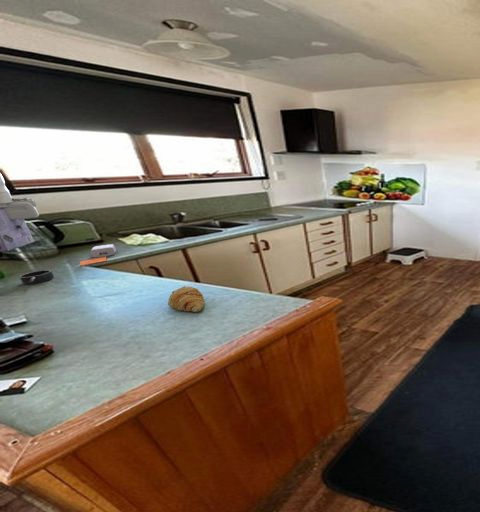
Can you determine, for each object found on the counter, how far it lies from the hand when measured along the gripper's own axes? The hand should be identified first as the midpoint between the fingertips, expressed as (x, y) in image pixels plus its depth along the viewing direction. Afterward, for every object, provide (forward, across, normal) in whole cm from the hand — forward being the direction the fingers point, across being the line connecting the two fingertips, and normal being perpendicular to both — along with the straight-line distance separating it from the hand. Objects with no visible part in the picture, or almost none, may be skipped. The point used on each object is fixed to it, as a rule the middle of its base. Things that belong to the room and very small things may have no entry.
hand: (9, 230), depth 124 cm
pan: (+22, -4, +15) cm, 27 cm away
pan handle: (+20, -4, +23) cm, 31 cm away
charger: (+22, -26, -20) cm, 40 cm away
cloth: (+22, -21, -4) cm, 31 cm away
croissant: (+22, -48, +93) cm, 107 cm away
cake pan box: (+8, 0, +1) cm, 8 cm away
